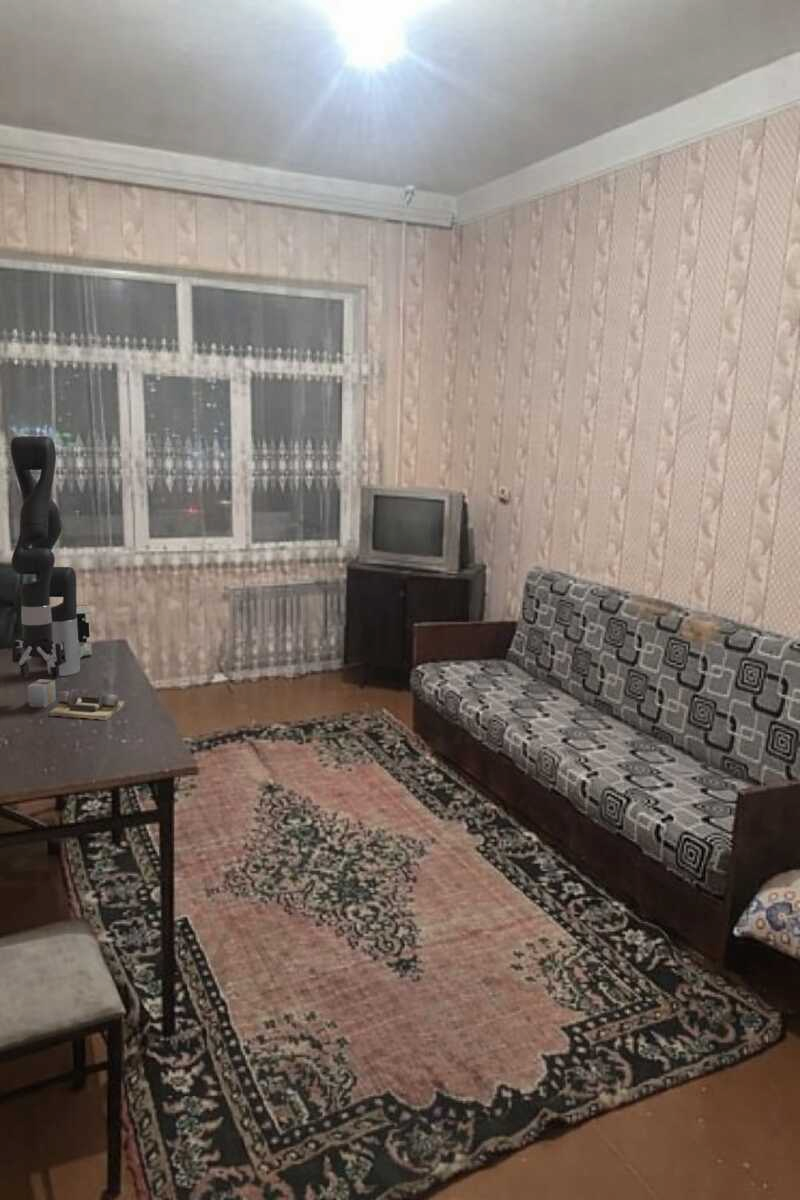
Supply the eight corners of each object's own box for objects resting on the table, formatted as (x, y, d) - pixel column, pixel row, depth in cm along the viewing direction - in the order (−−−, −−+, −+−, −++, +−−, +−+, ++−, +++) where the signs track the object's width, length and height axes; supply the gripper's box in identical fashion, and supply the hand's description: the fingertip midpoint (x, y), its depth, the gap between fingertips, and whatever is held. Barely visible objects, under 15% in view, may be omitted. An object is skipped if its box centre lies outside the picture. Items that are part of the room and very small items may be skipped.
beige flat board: (72, 701, 234) (70, 682, 233) (126, 705, 233) (125, 685, 231) (49, 716, 223) (48, 695, 222) (106, 720, 221) (105, 699, 220)
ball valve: (91, 663, 271) (89, 609, 267) (63, 665, 268) (60, 611, 264) (93, 648, 287) (90, 598, 283) (66, 650, 285) (63, 599, 281)
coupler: (40, 699, 236) (39, 679, 234) (56, 700, 235) (55, 680, 234) (29, 706, 230) (27, 685, 228) (44, 707, 229) (43, 686, 228)
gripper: (68, 619, 230) (71, 676, 233) (20, 616, 232) (23, 673, 235) (54, 625, 223) (57, 683, 226) (4, 622, 224) (8, 680, 228)
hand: (40, 678), depth 230 cm, fingers open, 8 cm apart
